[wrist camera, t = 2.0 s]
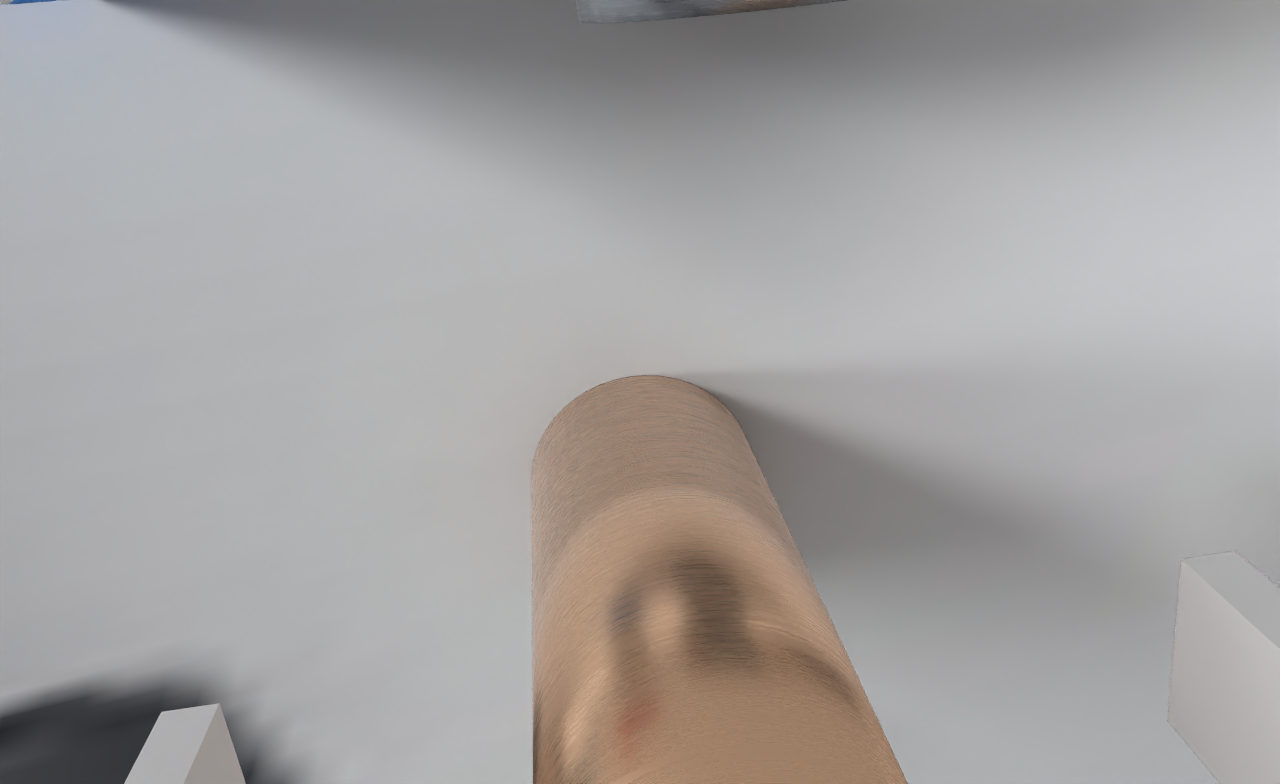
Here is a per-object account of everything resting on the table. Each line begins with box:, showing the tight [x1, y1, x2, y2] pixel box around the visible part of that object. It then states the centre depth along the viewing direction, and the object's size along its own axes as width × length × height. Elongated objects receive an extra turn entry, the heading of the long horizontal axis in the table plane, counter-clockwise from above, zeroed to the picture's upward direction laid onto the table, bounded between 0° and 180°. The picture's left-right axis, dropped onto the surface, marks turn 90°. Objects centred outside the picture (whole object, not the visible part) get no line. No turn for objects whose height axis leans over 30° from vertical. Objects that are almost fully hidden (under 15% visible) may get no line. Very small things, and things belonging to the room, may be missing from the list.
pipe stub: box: [531, 375, 908, 784], centre depth 15 cm, size 4×4×12 cm
